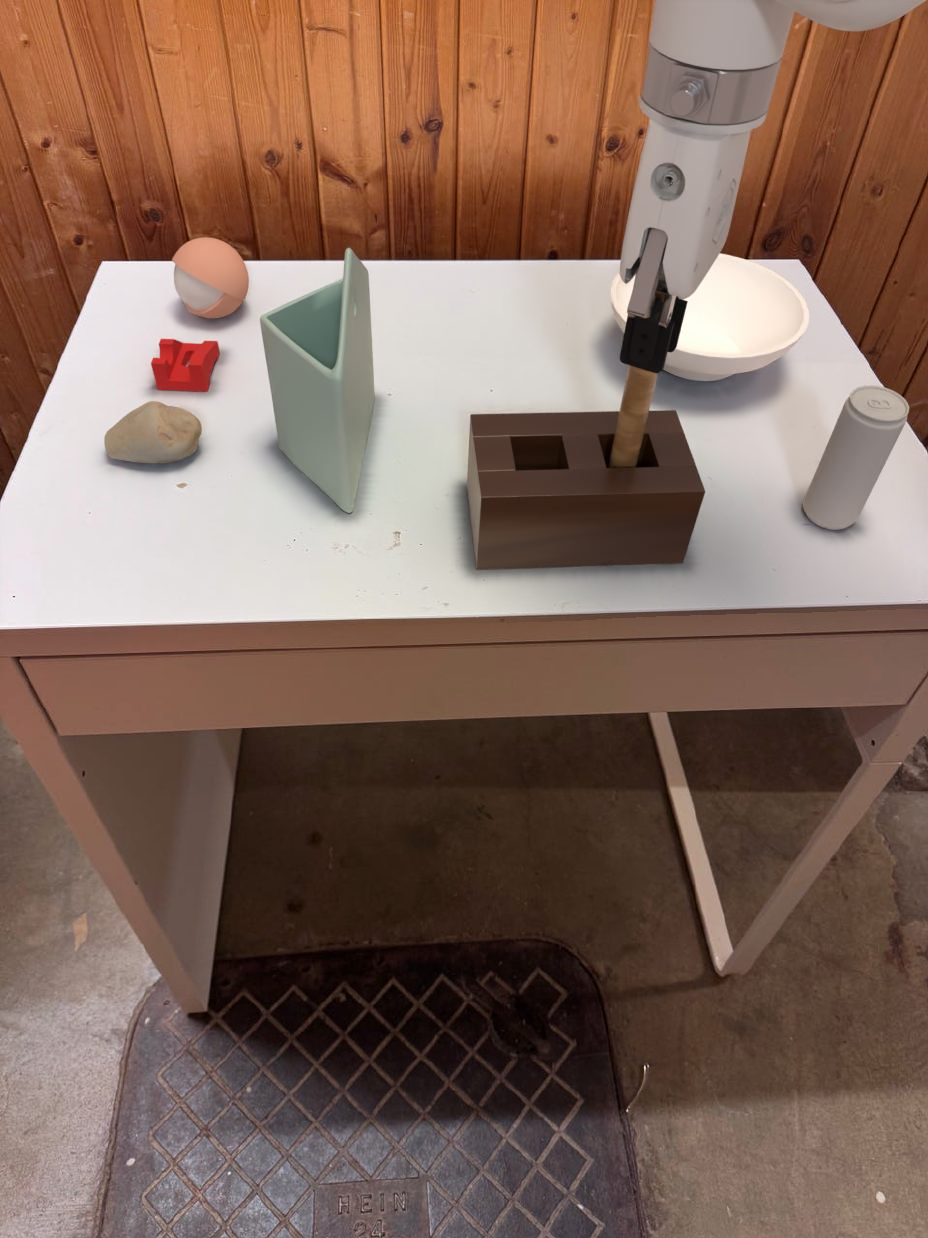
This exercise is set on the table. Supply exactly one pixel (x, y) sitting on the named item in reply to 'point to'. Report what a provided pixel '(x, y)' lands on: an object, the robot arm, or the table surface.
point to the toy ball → (210, 277)
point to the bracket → (184, 365)
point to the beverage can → (855, 456)
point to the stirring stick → (633, 415)
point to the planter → (324, 380)
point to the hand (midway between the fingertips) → (647, 354)
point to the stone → (154, 434)
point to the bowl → (729, 320)
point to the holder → (578, 491)
